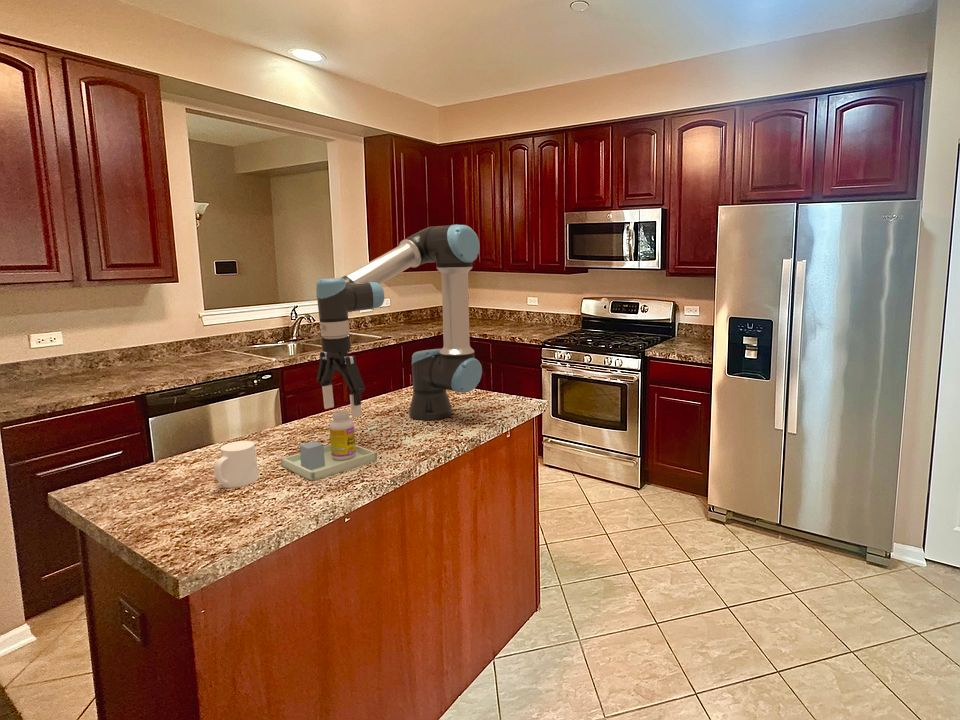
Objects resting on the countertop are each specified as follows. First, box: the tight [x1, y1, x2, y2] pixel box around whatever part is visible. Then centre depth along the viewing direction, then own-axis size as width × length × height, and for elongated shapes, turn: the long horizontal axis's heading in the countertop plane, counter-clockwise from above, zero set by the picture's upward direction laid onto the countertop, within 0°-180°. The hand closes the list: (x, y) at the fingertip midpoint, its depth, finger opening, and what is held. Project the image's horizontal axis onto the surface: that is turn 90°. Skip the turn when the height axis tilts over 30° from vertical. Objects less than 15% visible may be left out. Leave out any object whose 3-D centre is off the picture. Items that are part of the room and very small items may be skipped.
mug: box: [213, 440, 260, 489], centre depth 145 cm, size 12×9×8 cm
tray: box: [280, 443, 378, 482], centre depth 157 cm, size 20×16×2 cm
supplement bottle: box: [329, 409, 356, 460], centre depth 160 cm, size 7×7×13 cm
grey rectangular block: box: [299, 440, 325, 470], centre depth 153 cm, size 4×4×6 cm
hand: (342, 412), depth 159 cm, fingers open, 13 cm apart
